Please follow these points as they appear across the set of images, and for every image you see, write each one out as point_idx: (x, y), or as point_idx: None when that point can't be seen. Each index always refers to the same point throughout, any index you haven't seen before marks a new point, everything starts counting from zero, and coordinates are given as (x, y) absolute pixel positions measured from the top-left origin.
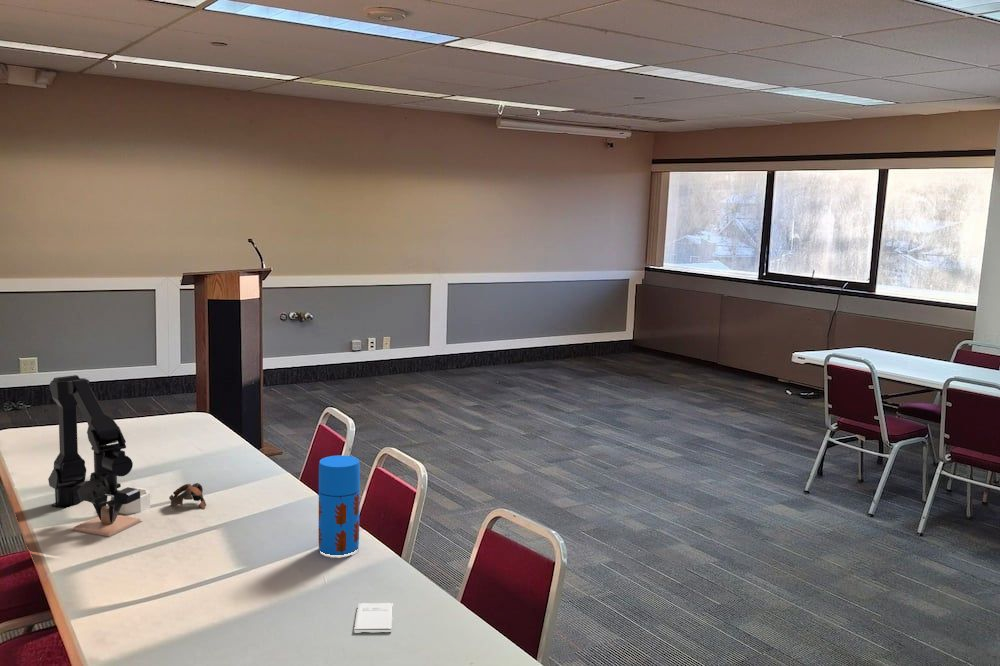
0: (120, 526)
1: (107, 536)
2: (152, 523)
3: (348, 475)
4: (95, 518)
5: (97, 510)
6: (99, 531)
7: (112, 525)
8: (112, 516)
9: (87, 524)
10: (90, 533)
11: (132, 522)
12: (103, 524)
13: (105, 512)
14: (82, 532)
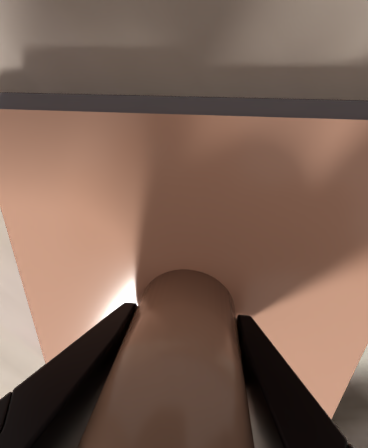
0: (41, 276)
1: (8, 105)
2: (26, 376)
3: None
4: (341, 355)
5: (308, 435)
6: (92, 119)
7: (108, 276)
8: (69, 349)
9: (338, 236)
10: (199, 105)
11: (42, 348)
12: (184, 270)
13: (125, 394)
14: (299, 100)
